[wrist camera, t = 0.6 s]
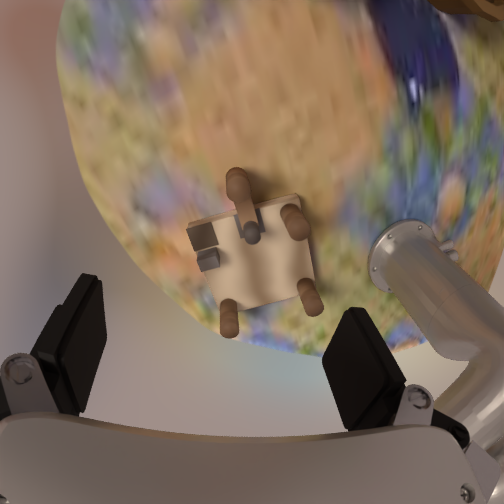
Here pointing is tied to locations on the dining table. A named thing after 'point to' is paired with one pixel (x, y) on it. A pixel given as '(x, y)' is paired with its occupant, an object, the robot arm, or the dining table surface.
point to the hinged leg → (243, 203)
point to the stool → (256, 260)
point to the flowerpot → (472, 8)
